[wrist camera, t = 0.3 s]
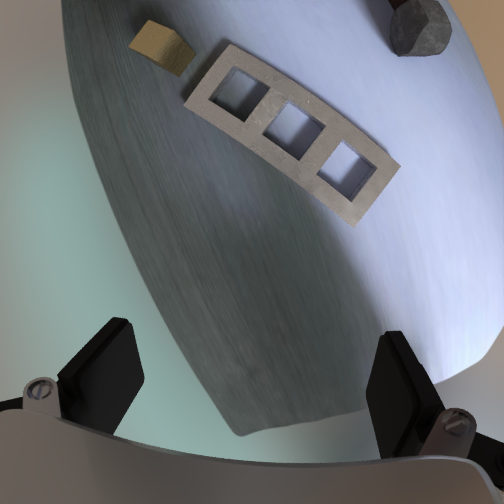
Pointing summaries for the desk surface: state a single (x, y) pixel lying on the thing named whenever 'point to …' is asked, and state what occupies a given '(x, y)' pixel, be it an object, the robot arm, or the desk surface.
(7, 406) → the robot arm
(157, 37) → the brass peg
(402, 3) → the hammer
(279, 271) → the desk surface
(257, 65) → the white flat frame
